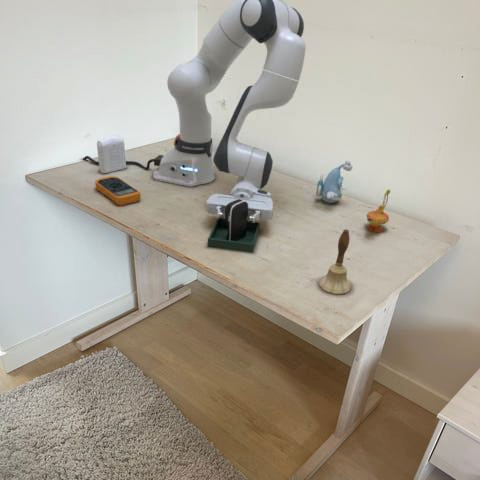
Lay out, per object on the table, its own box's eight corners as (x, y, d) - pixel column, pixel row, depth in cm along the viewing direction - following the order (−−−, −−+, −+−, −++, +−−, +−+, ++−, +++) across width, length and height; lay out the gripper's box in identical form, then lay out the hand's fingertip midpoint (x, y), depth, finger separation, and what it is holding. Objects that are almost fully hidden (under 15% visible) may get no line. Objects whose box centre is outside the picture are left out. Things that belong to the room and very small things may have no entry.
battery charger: (237, 231, 151) (239, 196, 144) (246, 236, 149) (249, 200, 142) (221, 239, 147) (223, 203, 140) (231, 243, 145) (233, 207, 138)
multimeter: (116, 183, 175) (115, 174, 173) (142, 201, 165) (141, 191, 163) (93, 188, 171) (92, 179, 169) (119, 207, 160) (118, 197, 158)
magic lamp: (353, 237, 152) (360, 204, 146) (372, 217, 165) (379, 185, 158) (374, 244, 150) (383, 210, 143) (392, 222, 162) (400, 190, 156)
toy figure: (344, 213, 166) (353, 170, 157) (313, 209, 167) (319, 166, 158) (346, 194, 179) (354, 153, 170) (317, 190, 180) (323, 149, 171)
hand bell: (316, 276, 133) (326, 222, 123) (346, 277, 134) (358, 223, 124) (322, 294, 126) (332, 238, 117) (353, 294, 127) (367, 239, 117)
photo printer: (121, 165, 189) (118, 132, 182) (128, 168, 187) (125, 135, 180) (98, 171, 183) (93, 137, 176) (104, 174, 181) (100, 140, 174)
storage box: (207, 246, 143) (207, 238, 141) (217, 225, 154) (217, 217, 153) (253, 252, 142) (253, 244, 140) (259, 230, 153) (260, 222, 151)
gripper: (210, 186, 154) (200, 204, 143) (276, 193, 152) (271, 212, 141) (210, 205, 157) (200, 224, 146) (274, 212, 155) (269, 232, 144)
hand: (235, 218), depth 143 cm, fingers open, 8 cm apart
